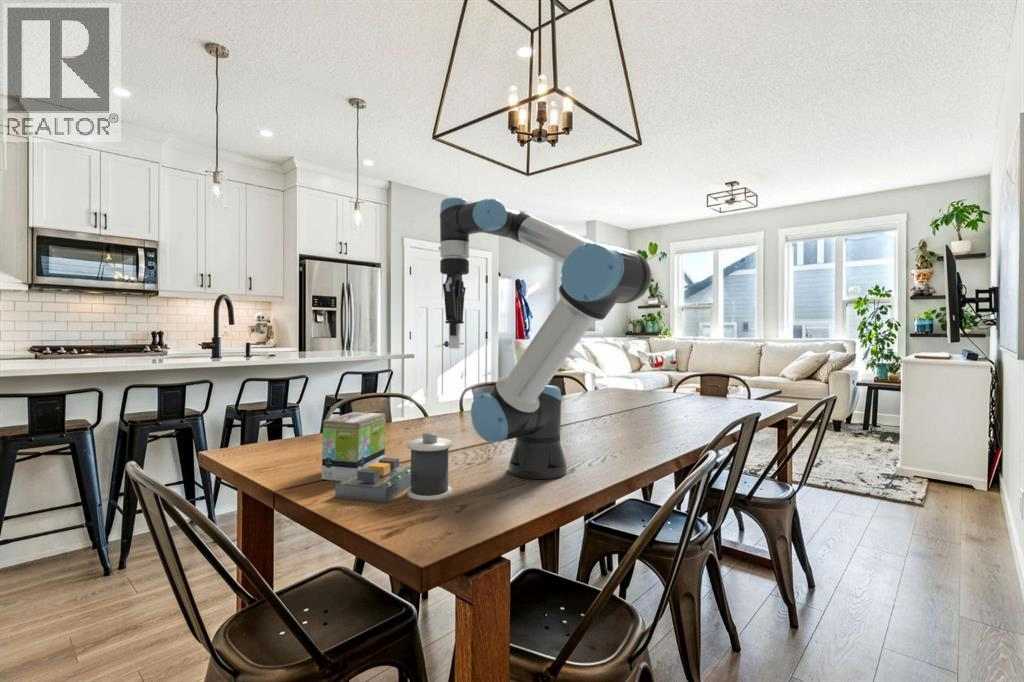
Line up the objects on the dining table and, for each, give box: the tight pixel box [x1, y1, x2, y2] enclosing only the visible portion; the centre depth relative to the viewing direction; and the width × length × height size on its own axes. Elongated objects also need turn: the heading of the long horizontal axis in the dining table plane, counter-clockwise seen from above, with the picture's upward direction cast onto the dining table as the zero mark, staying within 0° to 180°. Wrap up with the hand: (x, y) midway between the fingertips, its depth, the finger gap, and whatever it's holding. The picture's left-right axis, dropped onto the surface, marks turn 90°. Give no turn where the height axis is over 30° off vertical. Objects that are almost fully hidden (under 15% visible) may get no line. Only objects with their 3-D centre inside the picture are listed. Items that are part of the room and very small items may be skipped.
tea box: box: [321, 411, 387, 482], centre depth 132 cm, size 15×10×15 cm
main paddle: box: [368, 462, 390, 476], centre depth 120 cm, size 4×3×2 cm
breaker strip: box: [334, 466, 411, 504], centre depth 120 cm, size 12×17×3 cm
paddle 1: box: [357, 468, 379, 482], centre depth 115 cm, size 4×3×2 cm, turn 77°
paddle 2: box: [379, 457, 400, 470], centre depth 125 cm, size 4×3×2 cm, turn 77°
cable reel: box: [406, 431, 453, 502], centre depth 117 cm, size 10×10×14 cm
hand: (454, 348), depth 137 cm, fingers closed
